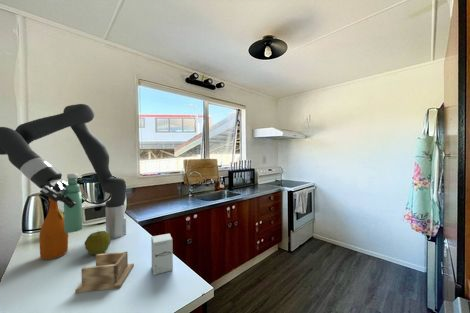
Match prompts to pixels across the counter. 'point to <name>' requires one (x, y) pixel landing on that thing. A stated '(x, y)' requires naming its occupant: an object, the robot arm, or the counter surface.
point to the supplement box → (162, 253)
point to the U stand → (105, 272)
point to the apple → (97, 242)
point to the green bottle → (75, 213)
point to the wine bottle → (53, 234)
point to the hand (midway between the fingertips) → (78, 203)
